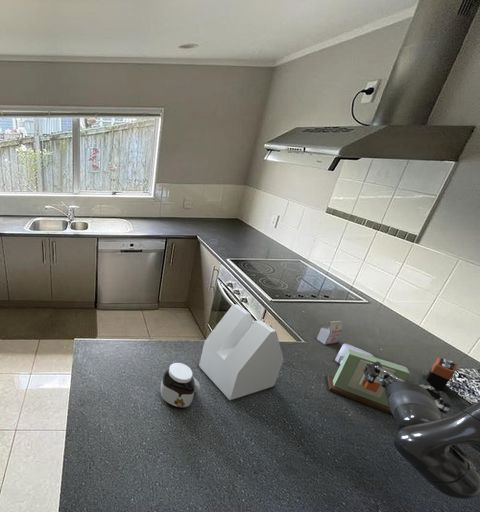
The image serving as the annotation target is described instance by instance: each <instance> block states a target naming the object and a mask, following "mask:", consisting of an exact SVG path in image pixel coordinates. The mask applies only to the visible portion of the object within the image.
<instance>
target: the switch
mask: <svg viewBox="0 0 480 512" xmlns="http://www.w3.org/2000/svg"><path fill="white" fill-rule="evenodd" d="M380 385H381V384H379V383H376V382H373V384H371V383H369V382H367V380H366V382H365V384H364V387H365V389H368V390H371V391H373V392H377V390H378V388H379V386H380Z"/></svg>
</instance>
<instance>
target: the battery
mask: <svg viewBox="0 0 480 512" xmlns="http://www.w3.org/2000/svg"><path fill="white" fill-rule="evenodd" d="M457 366H458V365H457V364H456V363H454V361H452V360H451V359H450V358H442V357H437V358H436V360H435V361H434V363H433V364H432V366H431V368H430V369H429V371H428V373H427V374H426V376H425V378H424V379H426V381H427V382H429V383H430V385H431V386H432V387H433V388H434V390H435V391H437V392H439V391H442V392H443V390H444V389H445V387H446V386H447V384H448V382H449V381H450V380H451V379H452V377H453V376H454V374H455V372H456V369H457Z"/></svg>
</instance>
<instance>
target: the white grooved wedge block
mask: <svg viewBox="0 0 480 512" xmlns="http://www.w3.org/2000/svg"><path fill="white" fill-rule="evenodd" d="M226 311H227V312H225V314H224V315H223V317H222V318H221V319H220V320H219V322H218V323H217V324H216V326H215V327H214V328H213V330H212V331H211V332H210V333H209V335H208V336H207V337H206V338H205V340H204V342H203V346H202V351H201V354H200V355H201V356H200V359H199V362H198V367H199V368H200V369H201V370H202V371H203V373H204V374H205V375H206V376H207V377H208V378H209V379H210V380H211V382H213V384H215V386H216V387H217V388H218V389H219V390H220V391H221V392H222V393H223V395H224V396H225V397H226V398H227V399H228V400H229V401H233V400H235V399H239V398H241V397H244V396H247V395H248V396H249V395H250V394H254V393H257V392H261V391H264V390H267V389H269V388H273V387H275V384H276V382H277V379H278V376H279V375H280V371H281V369H282V366H283V363H284V361H285V359H284V355H283V351H282V348H281V343H280V340H279V337H278V333H277V330H275V329H274V328H272V327H271V326H270V325H269V324H267V323H265V322H264V321H262V320H261V319H256V320H255V321H254V319H253V318H252V314H251V313H250V312H249V311H248V310H247V309H245V308H243V307H242V306H240V305H239V304H237V303H236V304H232V305H231V306H230V308H229V309H228V310H226Z"/></svg>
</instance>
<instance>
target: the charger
mask: <svg viewBox="0 0 480 512" xmlns="http://www.w3.org/2000/svg"><path fill="white" fill-rule="evenodd" d="M348 349H350V350H353V351H356V352H360V353H363V354H366V355H369V356H372V357H375V356H374V355H373V354H372V353H370V352H368V351H366V350H364V349H361V348H359V347H356V346H354V345H352V344H349V343H343V344H342V345H341V347H340V349H339V350H338V353H337V354H336V356H335V359H334V361H335V362H336V363H338V364H339V366H340V365H341V362H342V360H343V358H344V356H345V354H346V352H347V350H348Z"/></svg>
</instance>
